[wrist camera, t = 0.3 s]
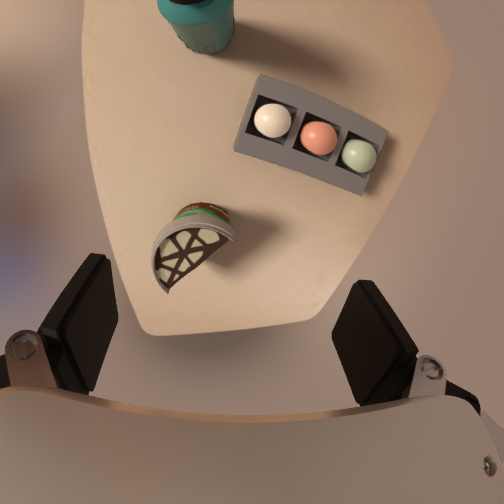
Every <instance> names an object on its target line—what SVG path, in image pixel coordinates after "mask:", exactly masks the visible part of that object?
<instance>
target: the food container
mask: <svg viewBox="0 0 504 504" xmlns="http://www.w3.org/2000/svg"><path fill="white" fill-rule="evenodd" d="M235 235H236V230H235V229H234V228H233V227H232V226H230V223H229V219H228V215H227V213H226V212H225V211H224V210H222V209H221V208H219V207H217V206H215V205H213V204H209V203H202V202H200V203H194V204H190V205H188V206H186V207H184V208H183V209H182V210H180V211H179V213H178V214H177V215H176V217H175V218H174V220H173V221H172V222H171V223H169V224H168V225H166V226H165V227H164V228H163V229H162V230H161V231H160V232H159V234H158V235H157V237H156V239H155V241H154V244H153V248H152V257H151V261H152V270H153V273H154V276H155V278H156V281H157V282H158V284H159V286H160V287H161V288H162V289H163V291H165V292H166V293H167V294H168V293H169V290H170V288H171V287H172V286H173V285H174V284H175V283H176V282H178V281H179V280H180V279H181V278H183V277H184V276H185V275H187V274H188V273H189V272H191V271H192V270H194V269H195V268H196V267H198V266H199V265H200V264H201V263H202V262H203V261H204V260H205V259H206V258H208V257H209V256H210V255H211V254H212V253H213V252H215V251H216V250H217V249H218V248H219V247H221V246H222V245H223V244H224V243H226V242H227V241H228V240H229V239H230V240H231V241H232V242H233V239H234V238H235Z"/></svg>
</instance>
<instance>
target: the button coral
mask: <svg viewBox="0 0 504 504" xmlns="http://www.w3.org/2000/svg"><path fill="white" fill-rule="evenodd" d="M297 139H298V141H299V143H300V144H301V145H302V146H303V147H304V148H306V149H308V150H309V151H311V152H313V153H315V154H317V155H325V154H328V153H330V152H331V151H332V150H333V149H334V148H335V146H336V144H337V134H336V132H335V130H334V129H333V127H332V126H330V125H329V124H327V123H323V122H318V121H313V120H310V121H306V122H304V123H302V124H301V126H300V129H299V131H298V134H297Z"/></svg>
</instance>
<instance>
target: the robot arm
mask: <svg viewBox="0 0 504 504" xmlns="http://www.w3.org/2000/svg"><path fill="white" fill-rule="evenodd" d="M117 323H118V311H117V305H116V298H115V293H114V285H113V278H112V270H111V262H110V260H109V259H107V258H106V256H105V255H103V254H95V253H90V255H89V256H88V257H87V258H86V260H85V261H84V262H83V264H82V265H81V266H80V268H79V269H78V270H77V272H76V273H75V275H74V276H73V277H72V279H71V280H70V282H69V283H68V284H67V286H66V287H65V288H64V290H63V291H62V293H61V294H60V296H59V297H58V299H57V300H56V302H55V303H54V305H53V306H52V308H51V310H50V311H49V313H48V314H47V316H46V318H45V319H44V321H43V322H42V324H41V326H40V327H39V329H38V331H37V332H35V331H32V330H21V331H18V332H16V333H14V334H13V335H12V336H11V337H10V338H9V339H8V341H7V343H6V346H5V354H4V355H2V356H0V504H504V469H503V466H502V463H503V461H504V429H503V428H501V427H500V426H499V425H498V424H497V423H496V422H495V421H494V420H493V419H492V418H491V417H490V416H488V415H487V414H486V413H485V412H484V411H482V412H480V411H481V409H480V404H479V401H478V399H477V398H476V396H475V395H473V394H471V393H470V392H468V391H466V390H464V389H462V388H460V387H458V386H457V385H455V384H453V383H451V382H449V381H447V380H446V376H447V375H446V370H445V367H444V366H443V364H442V363H441V362H440V361H439V360H437V359H436V358H435V357H433V356H429V355H422V356H420V357H419V358H418V359H417V357H416V354H417V353H418V351H419V350H418V348H417V346H416V345H415V343H414V342H413V340H412V338H411V337H410V335H409V334H408V332H407V331H406V329H405V327H404V326H403V324H402V323H401V322H400V320H399V318H398V317H397V315H396V314H395V312H394V311H393V309H392V308H391V306H390V305H389V304H388V302H387V301H386V299H385V298H384V296H383V295H382V293H381V292H380V290H379V289H378V288H377V286H376V285H375V283H374V282H373V281H371V280H358V281H357V282H356V283H354V284H353V286H352V288H351V290H350V293H349V295H348V297H347V300H346V302H345V304H344V307H343V309H342V311H341V313H340V315H339V318H338V320H337V322H336V324H335V326H334V329H333V331H332V341H333V343H334V346H335V348H336V351H337V353H338V356H339V358H340V361H341V364H342V366H343V369H344V372H345V374H346V377H347V379H348V382H349V385H350V387H351V390H352V393H353V395H354V398H355V401H356V402H357V403H358V404H360V407H355V408H348V409H340V410H332V411H322V412H311V413H298V414H279V415H226V414H208V413H194V412H183V411H173V410H165V409H158V408H150V407H145V406H139V405H133V404H127V403H122V402H116V401H111V400H106V399H102V398H96V397H93V396H89V395H88V394H89V391H91V392H92V391H93V390H94V388H95V385H96V382H97V379H98V375H99V373H100V370H101V367H102V364H103V361H104V358H105V355H106V352H107V349H108V347H109V344H110V341H111V338H112V336H113V333H114V331H115V328H116V325H117Z"/></svg>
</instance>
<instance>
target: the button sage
mask: <svg viewBox="0 0 504 504" xmlns="http://www.w3.org/2000/svg"><path fill="white" fill-rule="evenodd" d="M338 158H339V160H340V161H341V162H342V163H343V164H345V165H347V166H348V167H350V168H352V169H353V170H355V171H357V172H361V173H363V172H367V171H369V170H370V169H372V167H373V166H374V164H375V162H376V152H375V149H374V148H373V146H372V145H370V144H369V143H367V142H364V141H361V140H358V139H355V138H346V139H345V141H344V144H343V146H342V149H341V151H340V154H339V156H338Z"/></svg>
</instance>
